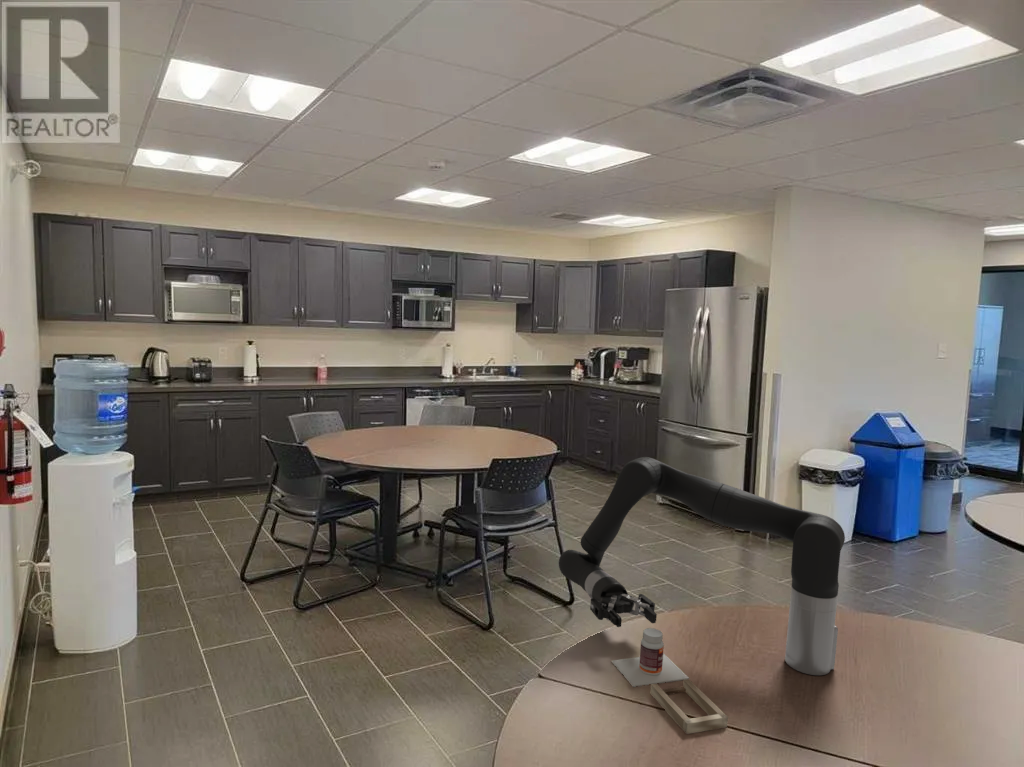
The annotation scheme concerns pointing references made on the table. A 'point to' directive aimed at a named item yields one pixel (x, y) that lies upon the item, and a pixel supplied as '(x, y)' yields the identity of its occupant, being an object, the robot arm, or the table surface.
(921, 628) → the table surface
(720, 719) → the wooden rectangular frame
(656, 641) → the pill bottle
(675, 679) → the mat
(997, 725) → the table surface
